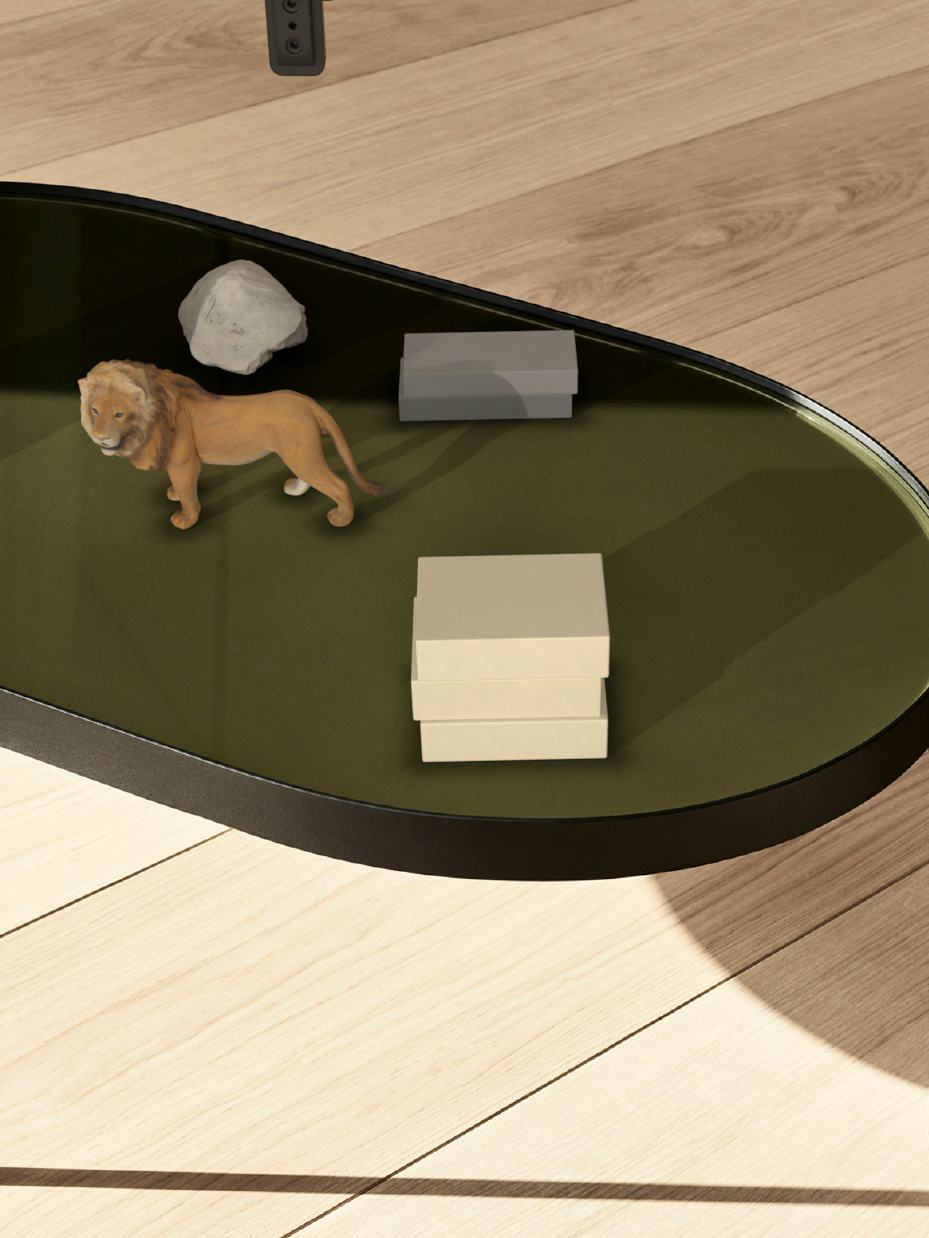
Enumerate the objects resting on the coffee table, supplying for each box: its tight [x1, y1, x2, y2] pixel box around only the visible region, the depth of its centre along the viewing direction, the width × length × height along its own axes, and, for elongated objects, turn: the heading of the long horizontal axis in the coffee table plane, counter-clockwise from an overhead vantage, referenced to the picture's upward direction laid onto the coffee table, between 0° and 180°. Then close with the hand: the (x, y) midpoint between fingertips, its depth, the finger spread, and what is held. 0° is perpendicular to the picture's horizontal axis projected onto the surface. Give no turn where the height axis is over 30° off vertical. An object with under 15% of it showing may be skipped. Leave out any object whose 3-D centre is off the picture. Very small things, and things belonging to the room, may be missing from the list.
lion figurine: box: [77, 358, 387, 530], centre depth 92 cm, size 15×5×9 cm, turn 98°
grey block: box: [398, 329, 579, 422], centre depth 102 cm, size 10×4×3 cm, turn 91°
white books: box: [410, 596, 609, 763], centre depth 81 cm, size 8×6×4 cm
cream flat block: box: [415, 552, 611, 682], centre depth 79 cm, size 8×6×2 cm
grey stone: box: [177, 259, 308, 376], centre depth 106 cm, size 9×8×5 cm
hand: (307, 34), depth 77 cm, fingers open, 8 cm apart
